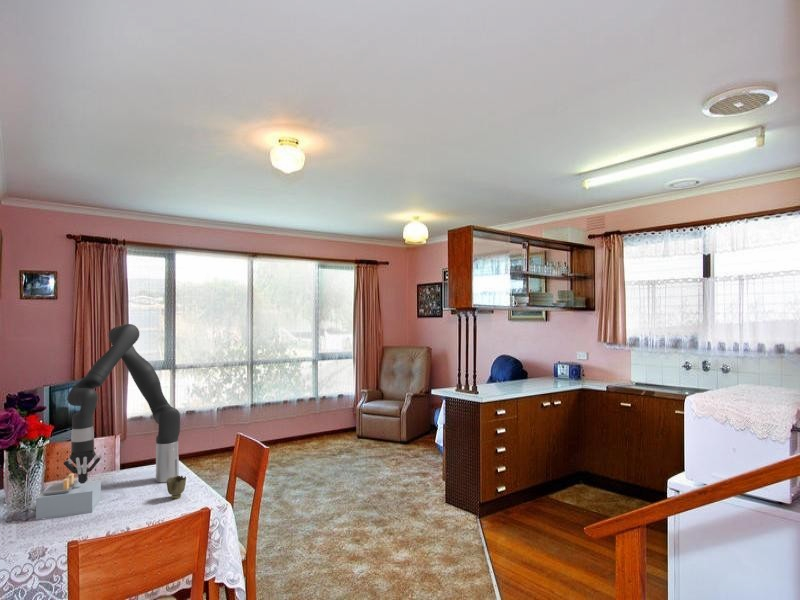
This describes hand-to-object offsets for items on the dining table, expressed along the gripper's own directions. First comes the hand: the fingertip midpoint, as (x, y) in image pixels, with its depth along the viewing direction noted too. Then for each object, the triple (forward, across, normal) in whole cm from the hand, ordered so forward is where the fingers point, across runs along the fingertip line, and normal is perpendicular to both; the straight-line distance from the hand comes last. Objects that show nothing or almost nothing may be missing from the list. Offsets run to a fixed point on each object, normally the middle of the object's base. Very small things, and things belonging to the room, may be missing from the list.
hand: (82, 482), depth 190 cm
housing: (+10, +4, 0) cm, 10 cm away
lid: (+1, +7, 0) cm, 7 cm away
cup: (+10, -34, +3) cm, 35 cm away
